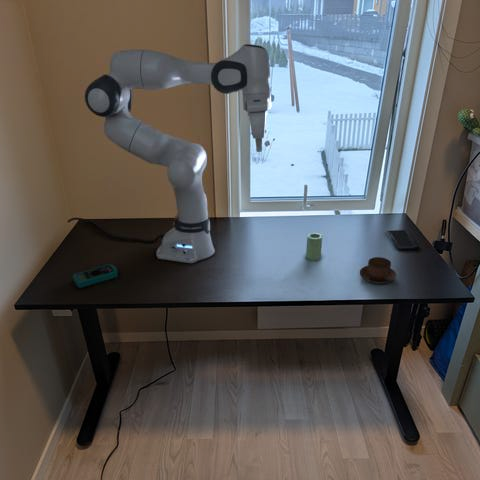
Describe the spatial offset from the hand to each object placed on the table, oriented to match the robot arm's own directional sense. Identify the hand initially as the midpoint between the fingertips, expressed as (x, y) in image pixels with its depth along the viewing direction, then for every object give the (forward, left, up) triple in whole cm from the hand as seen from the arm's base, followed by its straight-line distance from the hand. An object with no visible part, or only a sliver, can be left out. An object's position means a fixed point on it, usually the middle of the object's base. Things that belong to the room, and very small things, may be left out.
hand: (259, 149), depth 153 cm
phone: (+54, +17, -39) cm, 69 cm away
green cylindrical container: (+20, 0, -39) cm, 44 cm away
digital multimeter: (-56, -24, -39) cm, 72 cm away
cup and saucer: (+42, -14, -39) cm, 59 cm away
